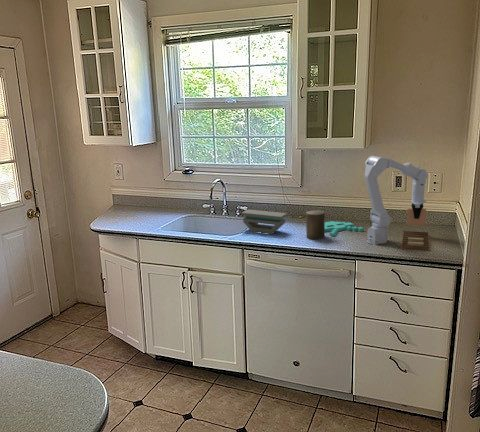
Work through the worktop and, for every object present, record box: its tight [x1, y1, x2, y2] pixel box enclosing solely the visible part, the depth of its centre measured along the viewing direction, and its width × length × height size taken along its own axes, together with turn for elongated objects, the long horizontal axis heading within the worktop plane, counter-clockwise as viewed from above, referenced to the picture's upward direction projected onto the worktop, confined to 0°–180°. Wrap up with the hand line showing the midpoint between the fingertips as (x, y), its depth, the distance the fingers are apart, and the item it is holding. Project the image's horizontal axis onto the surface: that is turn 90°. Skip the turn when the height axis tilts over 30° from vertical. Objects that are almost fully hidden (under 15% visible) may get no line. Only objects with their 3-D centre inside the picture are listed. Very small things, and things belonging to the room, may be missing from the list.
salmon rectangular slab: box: [406, 207, 427, 227], centre depth 229 cm, size 2×9×8 cm, turn 69°
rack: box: [400, 230, 431, 252], centre depth 222 cm, size 26×13×3 cm, turn 159°
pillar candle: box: [305, 209, 326, 240], centre depth 238 cm, size 10×10×15 cm
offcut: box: [408, 237, 423, 242], centre depth 219 cm, size 2×7×3 cm, turn 69°
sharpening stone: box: [240, 209, 288, 235], centre depth 253 cm, size 25×8×11 cm, turn 60°
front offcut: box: [408, 242, 424, 246], centre depth 214 cm, size 2×7×3 cm, turn 69°
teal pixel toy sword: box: [325, 220, 364, 238], centre depth 251 cm, size 20×2×20 cm
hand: (416, 218), depth 229 cm, fingers closed on salmon rectangular slab, 2 cm apart
